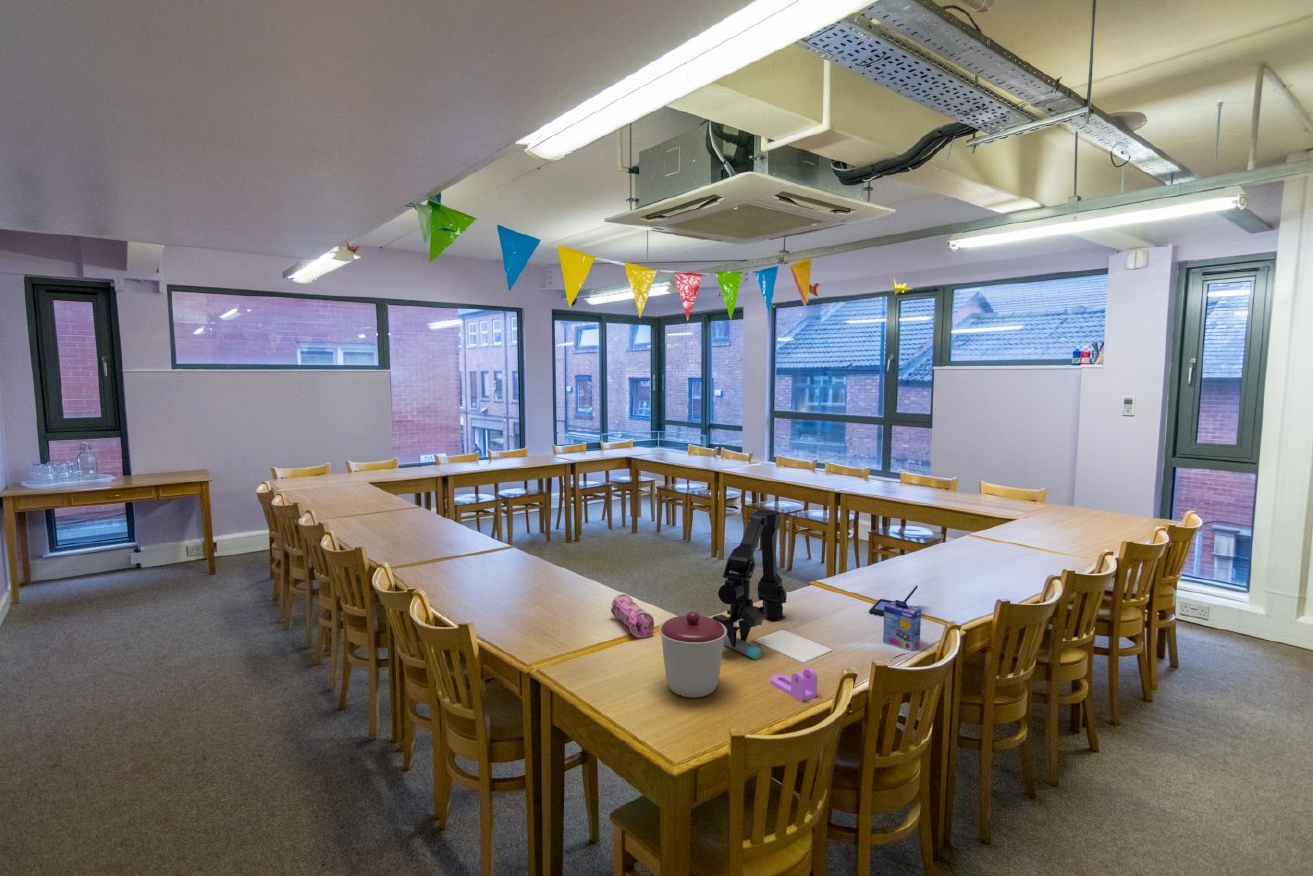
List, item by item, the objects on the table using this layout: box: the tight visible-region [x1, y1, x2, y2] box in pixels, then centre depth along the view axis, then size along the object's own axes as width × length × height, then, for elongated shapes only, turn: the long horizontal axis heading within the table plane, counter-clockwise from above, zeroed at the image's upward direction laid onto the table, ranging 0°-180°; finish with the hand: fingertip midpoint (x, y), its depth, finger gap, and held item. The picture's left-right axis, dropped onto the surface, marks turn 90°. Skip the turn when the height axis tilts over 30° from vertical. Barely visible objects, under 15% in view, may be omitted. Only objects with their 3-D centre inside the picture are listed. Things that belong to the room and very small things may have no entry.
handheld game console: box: [868, 585, 919, 618], centre depth 228 cm, size 16×13×9 cm
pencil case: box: [610, 593, 655, 639], centre depth 211 cm, size 21×9×9 cm, turn 24°
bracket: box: [770, 667, 818, 702], centre depth 170 cm, size 13×6×7 cm, turn 33°
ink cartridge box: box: [882, 599, 922, 652], centre depth 199 cm, size 10×6×14 cm, turn 45°
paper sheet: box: [753, 629, 834, 664], centre depth 198 cm, size 20×14×1 cm
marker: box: [723, 634, 762, 660], centre depth 194 cm, size 15×4×4 cm, turn 38°
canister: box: [658, 611, 727, 698], centre depth 169 cm, size 18×18×21 cm
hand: (738, 645), depth 194 cm, fingers open, 4 cm apart
